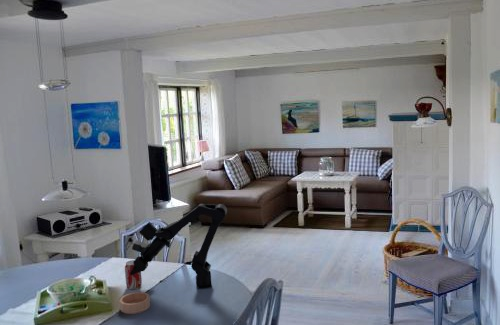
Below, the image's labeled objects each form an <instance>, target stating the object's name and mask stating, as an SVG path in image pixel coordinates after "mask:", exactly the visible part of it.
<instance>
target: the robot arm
mask: <svg viewBox="0 0 500 325" xmlns="http://www.w3.org/2000/svg"><path fill="white" fill-rule="evenodd" d="M227 213H228V208H227V207H226V205H225V204H223V203H222V204H221V203H219V204H205V203H200V204H198V205H197V206H196V207H195V208H193V209H192V210H191V211H189V212H188V213H187V214H185V215H183V216H182V217H181V218H180V219H178V220H176V221H174V222H172V223H169V224H167V225H166V226H164V227H159V228H156V226H154V224H152V222H150V221H148V222H147V223H146V224H145V225H144V226H143V227H142V228H141V229H140V230H139V232H138V234H139V235H141V236H142V237H143V238H144V240H146V241H149V242H150V243H148V244H147V243H145V242H143V241H140V240H138V239H136V240H135V241H134V242H133V245H132V246H131V249H132V250H133V251H135V252H138V253H139V255H140V256H136V257H135V259H134V262H133V264H134V267H133V269H132V270H131V272H130V275H133V274H136V273H138V272H141V273H142V272H145V270H146V269H147V268H148V266H149V263H151V262H152V261H153V259H154V258H155V257H156V256H158V254H159V253H160V252H161V251H162V250H163V249H164V248H165V247H167V248H170V247H171V246H172V240H173V239H174V238H175V236H177V234H178V233H179V232H180V231H181V230H182V229H183V228H185V227H186V226H187V225H189V224H190V223H191V222H193V221H194V220H196V219H197V218H199V217H200V216H201V215H203V216H207V217H211V218H210V219H211V220H210V225H209V226H208V230H207V232H206V235H205V238H204V240H203V242H202V245H201V247H200V249H199V250H195V252H194V254H193V257H192V260H191V261H190V264H191V269H192V270H193V271H194V273H195V284H196V285H195V286H196V287H197V289H198V290H199V289H208V288H212V287H213V285H212V284H213V283H212V273H211V267H212V264H210V263H209V262H208V261H207V259H208V253H209V250H210V247H211V245H212V243H213V240H214V237H215V235H216V233H217V232H218V228H219V226H220V225H221V223H222V222H223V220H224V219H225V217H226V216H227Z"/></svg>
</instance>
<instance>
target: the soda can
mask: <svg viewBox="0 0 500 325" xmlns="http://www.w3.org/2000/svg"><path fill="white" fill-rule="evenodd" d="M134 260H135V259H134ZM134 260H129V261H126V262H125V266H124V274H125V275H124V276H125V284H126V288H128V289H129V290H136V289H137V288H138V289H140V287H142V284H143V282H142V281H143V280H142V271H141V272H138V273H136V274H133V275H130V272H131V270H132V269H133V267H134V264H133V262H134ZM138 289H137V290H138Z"/></svg>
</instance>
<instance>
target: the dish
mask: <svg viewBox="0 0 500 325" xmlns="http://www.w3.org/2000/svg"><path fill="white" fill-rule="evenodd" d="M150 296H151V295H150V294H149V293H147V292H143V291H137V292H130V293H127V294H125V295H123V296H121V297H120V298H119V309H120V312H121V313H123V314H128V315H135V314H140V313H143V312H145V311H147V310H149V308H150V307H151V299H150Z"/></svg>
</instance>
